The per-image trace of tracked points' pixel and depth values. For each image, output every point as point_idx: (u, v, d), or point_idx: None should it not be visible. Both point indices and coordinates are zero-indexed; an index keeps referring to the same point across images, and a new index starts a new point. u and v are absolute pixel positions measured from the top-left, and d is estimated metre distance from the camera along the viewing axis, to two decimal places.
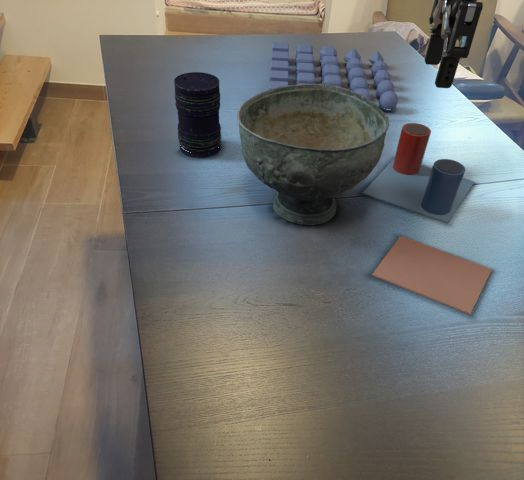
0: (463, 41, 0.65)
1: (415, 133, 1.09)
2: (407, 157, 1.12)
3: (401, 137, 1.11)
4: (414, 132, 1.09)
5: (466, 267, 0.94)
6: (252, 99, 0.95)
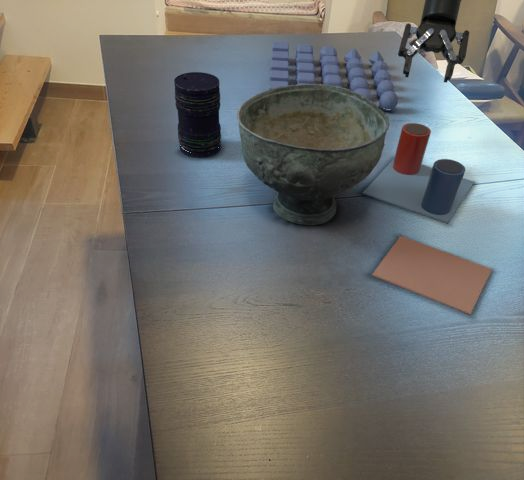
0: None
1: (415, 133, 1.09)
2: (407, 157, 1.12)
3: (401, 137, 1.11)
4: (414, 132, 1.09)
5: (466, 267, 0.94)
6: (252, 99, 0.95)
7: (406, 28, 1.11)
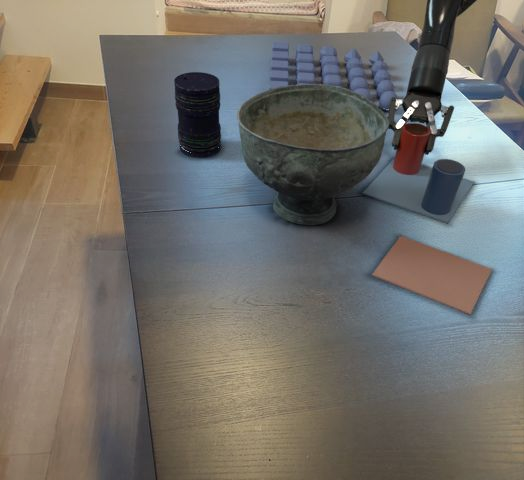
0: None
1: (415, 133, 1.09)
2: (407, 157, 1.12)
3: (401, 137, 1.11)
4: (414, 132, 1.09)
5: (466, 267, 0.94)
6: (252, 99, 0.95)
7: (392, 102, 1.11)
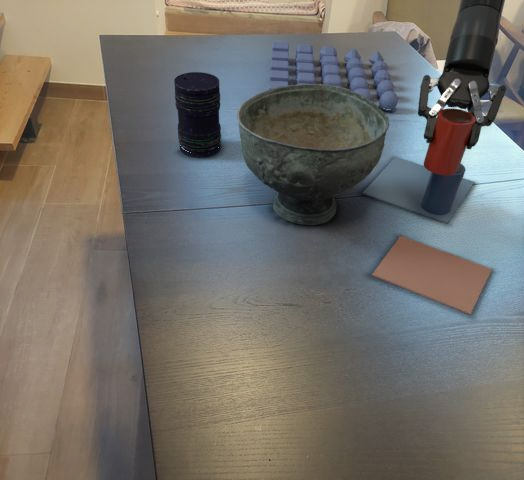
0: None
1: (455, 121, 0.84)
2: (444, 153, 0.87)
3: (437, 126, 0.86)
4: (454, 120, 0.84)
5: (466, 267, 0.94)
6: (252, 99, 0.95)
7: (424, 81, 0.86)
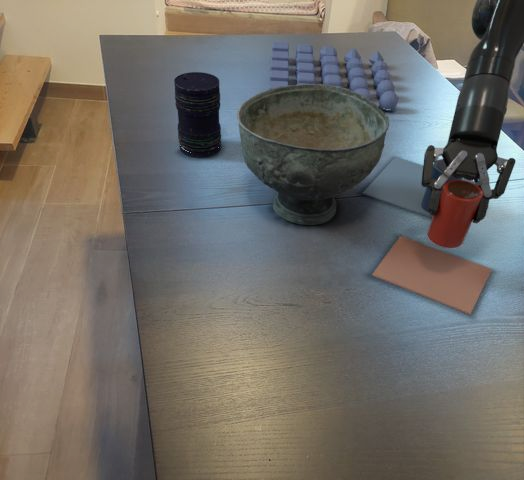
0: None
1: (461, 197, 0.79)
2: (450, 227, 0.82)
3: (442, 200, 0.81)
4: (461, 195, 0.79)
5: (466, 267, 0.94)
6: (252, 99, 0.95)
7: (429, 152, 0.81)
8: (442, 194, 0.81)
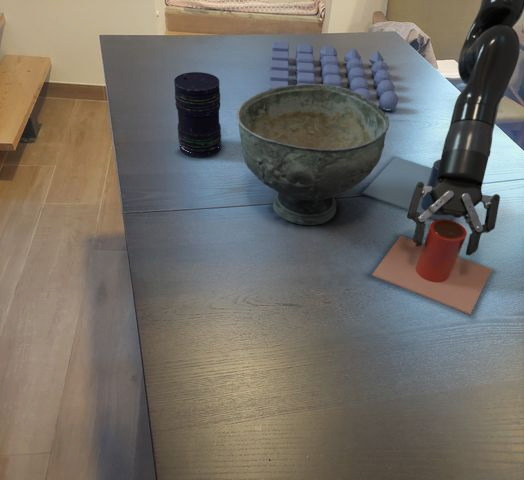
0: None
1: (446, 236, 0.84)
2: (436, 263, 0.88)
3: (428, 239, 0.87)
4: (446, 234, 0.85)
5: (466, 267, 0.94)
6: (252, 99, 0.95)
7: (418, 188, 0.86)
8: (428, 233, 0.86)
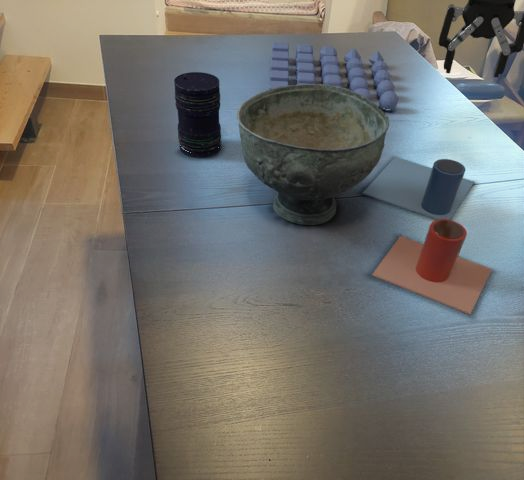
0: None
1: (446, 236, 0.84)
2: (436, 263, 0.88)
3: (428, 239, 0.87)
4: (446, 234, 0.85)
5: (466, 267, 0.94)
6: (252, 99, 0.95)
7: (448, 15, 0.88)
8: (428, 233, 0.86)
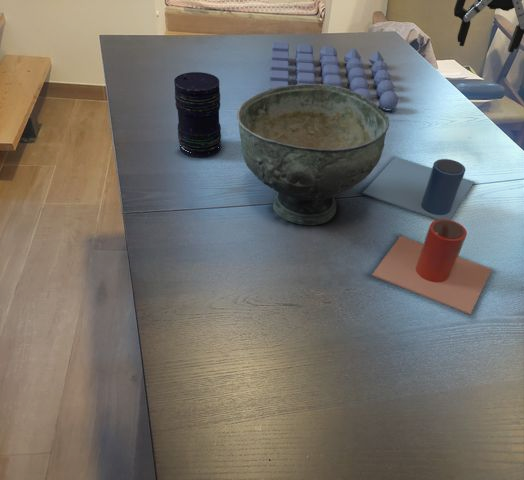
0: None
1: (446, 236, 0.84)
2: (436, 263, 0.88)
3: (428, 239, 0.87)
4: (446, 234, 0.85)
5: (466, 267, 0.94)
6: (252, 99, 0.95)
7: None
8: (428, 233, 0.86)
